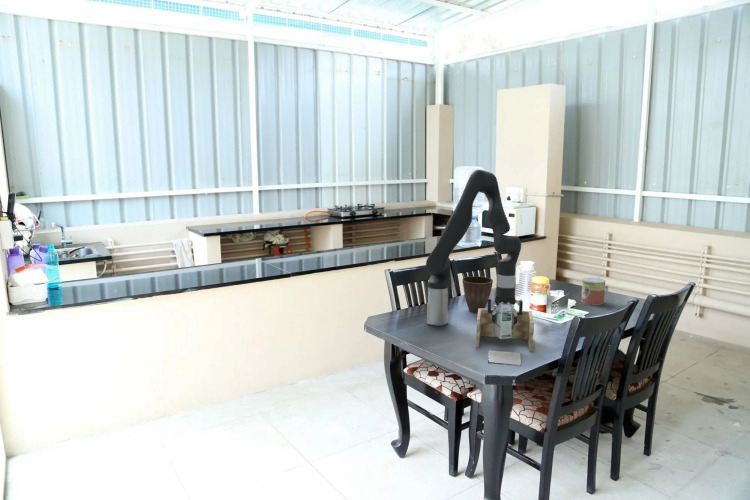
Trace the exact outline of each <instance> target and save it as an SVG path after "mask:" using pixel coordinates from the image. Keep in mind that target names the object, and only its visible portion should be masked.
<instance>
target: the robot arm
mask: <svg viewBox="0 0 750 500" xmlns="http://www.w3.org/2000/svg"><path fill="white" fill-rule="evenodd" d="M480 193H482V194H484V195H485V197H486V199H487V202H488V210H487V217H488V222H489V224H490V227H491V229H492V234H493V235H492V236H493V248H494V250H495V252H496V253H497V254H499V255H506V257H504V258H502V259H499V260H498V262H497V275H496V282H495V285H496V287H495V288H496V289H495V297H494V298H491V297H489V298H488V302H487V309H488V313H490V314H492V322H493V324H495V315H496V314H495V313H496V312H497V311H498V310H499V305H500V304H503V303H504V304H507V305H510V306H511V304H514V305H515V304H517V306H518V311H519V312H516V311H517V310H516V309H515V307H514V308H513V307H512V306H511V311H512V312H514V325H515V324H517V317H518V316H519V315H522V311H523V305H524V303H523V300H522V299H516V283H517V282H516V280H517V278H516V272H517V271H516V269H517V262H518V260H519V257H520V254H521V250H522V242H521V239H520V238H519V237H518V236H517V235H510V236H509V235H507V236H505V234H507V233H509V232H510V230H511V225H510V223H509V220H508V218H507V215H506V213H505V210H504V207H503V202H502V198H501V193H500V187H499V183H498V178H497V177H496V175H495V174H494V173H493V172H490V171H486V170H483V169H479V168H477V169H476V170H474V171H472V172H471V174H470V175H469V178H468V179H467V181H466V184H465V187H464V189H463V192H462V194H461V196H460V198H459V200H458V202H457V204H456V206H455V208H454V210H453V212H452V213H451V215H450V217H449V219H448V221H447V222H446V225H445V227H444V230H443V232H442V233H441V236H440V238H439V240H438V241H437V243H436V245H435V247H433V250H432V251H431V252H430V254H429V255H428V256H427V259H426V261H425V267H426V270H427V271H428V273H429V274H430V277H429V279H428V281H427V304H426V324H427V325H432V326H437V327H438V326H439V327H440V326H445V325H447V324H448V318H449V317H448V315H449V314H448V310H449V309H448V308H449V306H448V305H449V303H448V302H449V282H450V277H451V260H450V255H451V253H452V252H453V250H454V248H456V246H457V245H458V244H459V243H460V242H461V240H462V238H463V237H464V236H465V235H466V234H467V232H468V230H469V228H470V226H471V224H472V221H473V205H474V202H475V200H476V198H477V196H478V194H480ZM493 303H494V304H497V307H495V306H494V308H493V309H494V310H491V309H492V305H493ZM499 303H500V304H499Z"/></svg>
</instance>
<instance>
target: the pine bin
mask: <svg viewBox="0 0 750 500" xmlns="http://www.w3.org/2000/svg"><path fill="white" fill-rule="evenodd" d="M491 310H494V308H491ZM516 312H519V310H516ZM534 321H535V320H534V316H533V312H532V311H531V310H522V315H519V316H518V317H517V324H515V325H514V327H513V338H512V339H518V340H519V339H520V340H527V344H528V351H529V353H533V351H534V331H535V330H534V328H535V322H534ZM487 336H488V337H489V338H491V337H492V338H498V337H497V336H496V335H495V324H493V322H492V314H490V313H488V308H485V309H481V308H478V312H477V317H476V338H475V339H476V340H475V341H476V342H475V346H476V347H475V348H476V349H479V348H480V344H481V342H480V341H481V337H487ZM488 337H487V338H488Z"/></svg>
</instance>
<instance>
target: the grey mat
mask: <svg viewBox="0 0 750 500" xmlns="http://www.w3.org/2000/svg"><path fill="white" fill-rule="evenodd" d="M487 355H488V356H487V357H488V358H489V357H491V358H489V359H488V358H487V361H488V360H490V359H491V360H490V361H492V362H495V363H504V364H503V365H506V364H512V365H511V366H519V367H520V366H522V361H521V359H522V358H521V352H513V351H511V352H510V351H499V350H488V354H487ZM492 358H493V359H492ZM490 361H489V362H490Z"/></svg>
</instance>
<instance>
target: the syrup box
mask: <svg viewBox="0 0 750 500" xmlns="http://www.w3.org/2000/svg"><path fill="white" fill-rule="evenodd" d="M494 304H495V306H494V308H495V307H497V304H496V303H494ZM499 304H500V303H499ZM511 306H512V307H513V308H515V304H511ZM511 306H510V305H507V304H504V303H503V304H500V305H499V310H498V311H497V312H496V313H495V314H496V315H495V335H496V336H497V337H496V338H498V339H500V340H505V339H506V340H507V339H514V338H513V327H514V312H512V311H511Z"/></svg>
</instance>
